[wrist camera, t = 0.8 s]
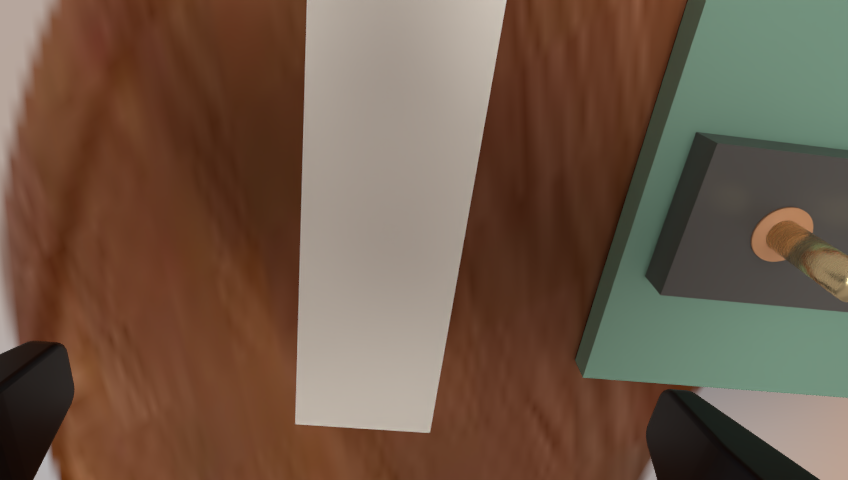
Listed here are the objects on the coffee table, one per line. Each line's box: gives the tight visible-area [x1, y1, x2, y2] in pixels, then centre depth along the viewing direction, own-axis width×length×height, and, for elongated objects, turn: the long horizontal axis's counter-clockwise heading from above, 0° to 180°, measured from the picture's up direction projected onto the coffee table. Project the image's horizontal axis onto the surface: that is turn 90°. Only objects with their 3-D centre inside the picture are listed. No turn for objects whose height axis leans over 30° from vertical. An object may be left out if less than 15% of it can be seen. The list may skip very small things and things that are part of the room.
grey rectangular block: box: [295, 0, 507, 433], centre depth 15 cm, size 4×13×5 cm, turn 173°
